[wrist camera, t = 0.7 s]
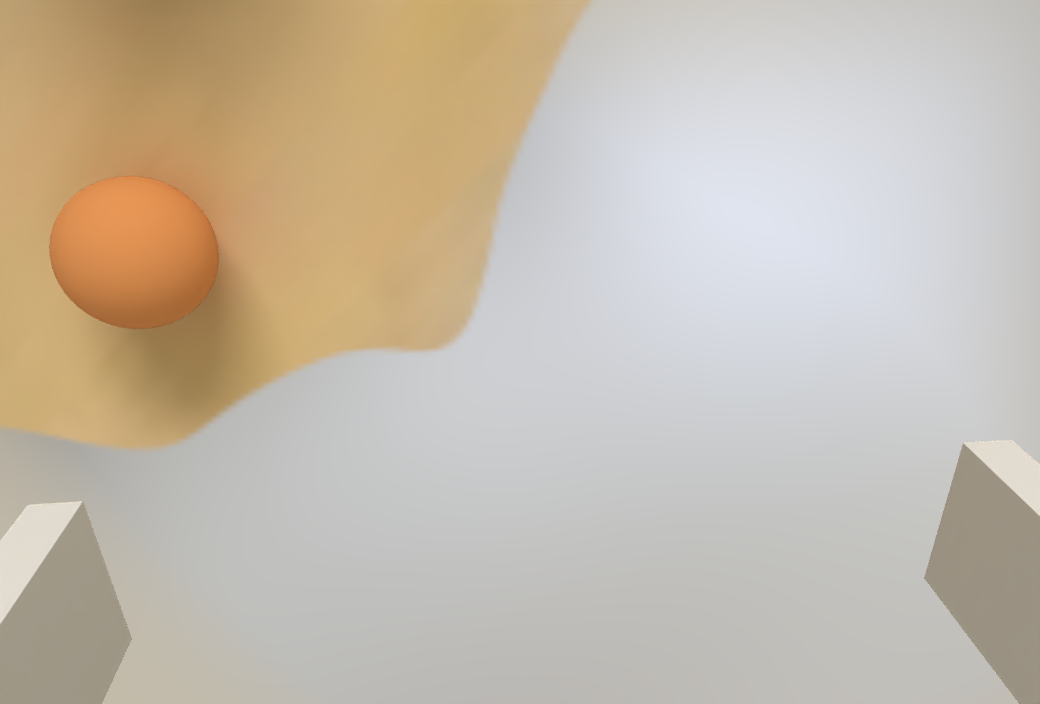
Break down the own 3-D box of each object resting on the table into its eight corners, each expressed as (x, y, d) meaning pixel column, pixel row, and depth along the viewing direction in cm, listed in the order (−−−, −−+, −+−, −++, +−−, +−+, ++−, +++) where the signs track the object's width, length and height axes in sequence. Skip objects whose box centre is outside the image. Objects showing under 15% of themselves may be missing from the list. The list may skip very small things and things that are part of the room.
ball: (69, 254, 31) (-2, 311, 26) (114, 132, 29) (47, 170, 24) (204, 315, 32) (161, 379, 28) (255, 203, 30) (219, 252, 26)
